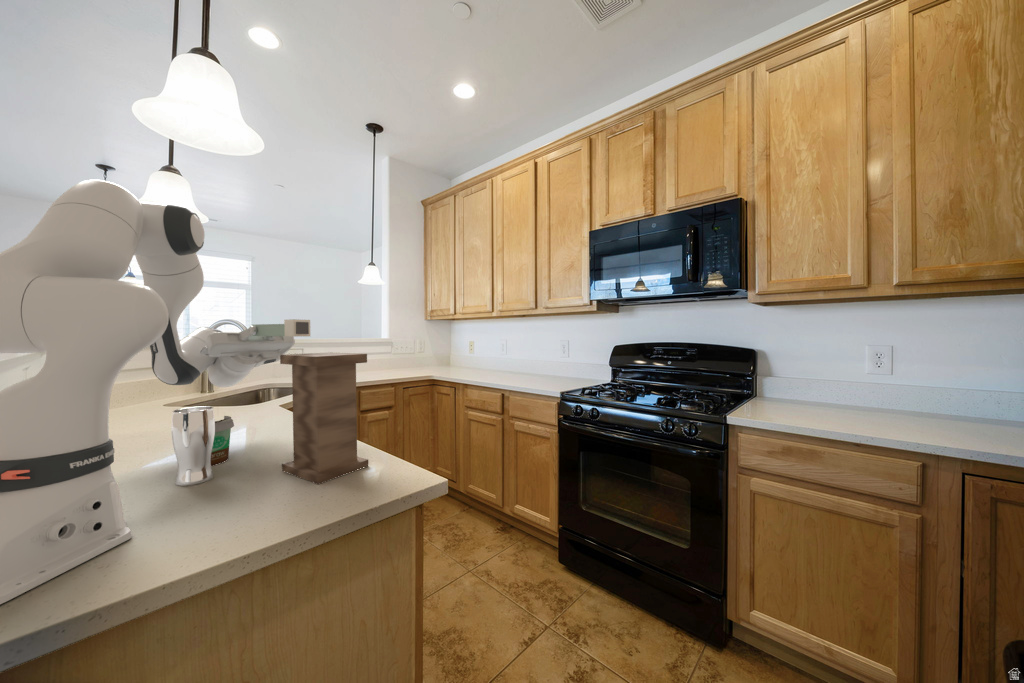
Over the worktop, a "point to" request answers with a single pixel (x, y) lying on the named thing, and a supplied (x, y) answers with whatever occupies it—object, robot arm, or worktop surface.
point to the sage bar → (285, 328)
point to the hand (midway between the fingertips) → (264, 328)
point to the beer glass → (193, 443)
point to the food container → (221, 440)
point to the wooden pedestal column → (324, 415)
